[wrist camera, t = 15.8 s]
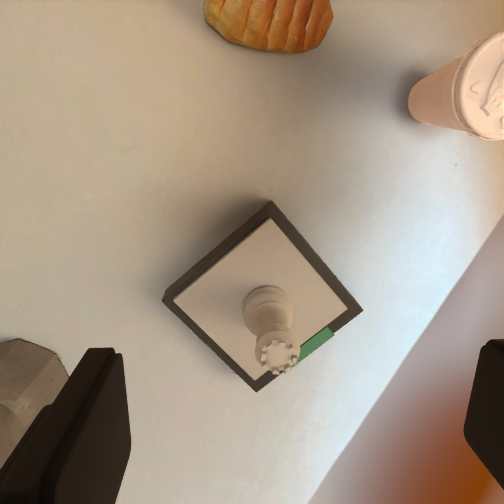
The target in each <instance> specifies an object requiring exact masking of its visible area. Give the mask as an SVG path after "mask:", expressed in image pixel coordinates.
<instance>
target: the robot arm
mask: <svg viewBox="0 0 504 504" xmlns="http://www.w3.org/2000/svg"><path fill="white" fill-rule="evenodd" d="M464 436H465V439H466V441H467V443H468V444H469V446H470V447H471V448H472V450H473V451H474V452H475V453H476V455H477V456H478V457H479V459H480V460H481V461H482V462H483V464H484V465H485V466H486V468H487V469H488V470H489V472H490V473H491V474H492V475H493V477H494V478H495V479H496V481H497V482H498V483H499V484H500V486H501V487H502V488H503V490H504V339H492V340H489V341H488V342H487V343H486V345H484V346H483V347H482V348H481V350H480V354H479V359H478V364H477V368H476V373H475V378H474V382H473V387H472V391H471V397H470V401H469V406H468V410H467V415H466V419H465V424H464ZM130 451H131V434H130V424H129V414H128V404H127V394H126V385H125V375H124V365H123V357H122V354H121V353H115V350H114V348H89V349H88V350H87V351H86V353H85V354H84V356H83V357H82V359H81V360H80V362H79V363H78V365H77V366H76V368H75V369H74V371H73V373H72V374H71V376H70V377H69V379H68V380H67V382H66V383H65V385H64V386H63V388H62V389H61V391H60V392H59V394H58V395H57V397H56V399H55V400H54V402H53V403H52V404H48V405H46V406H44V407H43V408H42V409H41V410H40V412H39V413H38V415H37V416H36V418H35V419H34V421H33V422H32V423H31V425H30V426H29V428H28V429H27V431H26V432H25V434H24V435H23V437H22V438H21V440H20V441H19V443H18V444H17V446H16V447H15V448H14V450H13V451H12V453H11V454H10V456H9V457H8V459H7V460H6V462H5V463H4V465H3V466H2V468H1V469H0V504H115V502H116V499H117V495H118V492H119V489H120V486H121V482H122V479H123V476H124V473H125V469H126V466H127V463H128V460H129V456H130Z"/></svg>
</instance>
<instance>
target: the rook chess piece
mask: <svg viewBox="0 0 504 504" xmlns="http://www.w3.org/2000/svg"><path fill="white" fill-rule="evenodd" d="M242 314H243V318H244V322H245V325H246V327H247V328H248V329H249V330H250V332H251V333H252V334H254V335H255V336H257V338H256V347H255V352H254V353H255V357H256V360H257V362H258V363H259V364H260V365H261V366H262V367H264V368H265V370H266V371H267V370H271V371H272V374H277V375H279V371H281V370H285V372H286V373H287V372H289V371H290V370H292V367H291V366H292V365H294V364H296V363H297V359H298V358H299V354H300V345H299V342H298V340H297V339H296V338H295V336H294V335H293V334H292V332H291V331H290V329H289V327H290V326H291V324H292V320H293V316H294V312H293V307H292V303H291V300H290V299H289V297H288V296H287V294H286V293H284V292H283V291H281V290H279V289H278V288H271V287H265V288H261V289H257V290H256V291H254V292H253V293H251V294H250V295H249V296H248V297H247V299H246V300H245V302H244V304H243V309H242Z"/></svg>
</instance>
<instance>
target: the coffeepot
mask: <svg viewBox="0 0 504 504" xmlns="http://www.w3.org/2000/svg"><path fill="white" fill-rule="evenodd" d="M68 379H69V378H68V375H67V373H66V370H65V368H64V366H63V364H62V363H61V361H60V360H59V359H58V358H57V356H56V354H54V353H52V352H51V351H49V350H47V349H45V348H43V347H41V346H39V345H36V344H33V343H30V342H24V341H21V340H14V341H10V342H5V343H1V344H0V469H1V468H2V466H3V465H4V463H5V462H6V460H7V459H8V457H9V456H10V454H11V453H12V451H13V450H14V448H15V447H16V446H17V444H18V443H19V441H20V440H21V438H22V437H23V435H24V434H25V432H26V431H27V429H28V428H29V426H30V425H31V423H32V422H33V421H34V419H35V418H36V416H37V415H38V413H39V412H40V410H41V409H42V408H43V407H44V406H46V405H48V404H52V403H53V402H54V400H55V399H56V397H57V395H58V394H59V392H60V391H61V389H62V388H63V386H64V385H65V383H66V382H67V380H68Z"/></svg>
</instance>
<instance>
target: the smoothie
mask: <svg viewBox="0 0 504 504" xmlns="http://www.w3.org/2000/svg"><path fill="white" fill-rule="evenodd" d="M408 109H409V112H410V114H411V116H412V117H413V118H414V119H415V120H417V121H418V122H421V123H426V124H431V125H436V126H441V127H446V128H451V129H456V130H461V131H465V132H467V133H468V134H469V135H471V136H473V137H476V138H478V139H481V140H489V141H496V140H504V31H503V32H499V33H494V34H492V35H490V36H488V37H486V38H484V39H482V40H480V41H479V42H478V43H477V44H476V45H475V46H473V47H472V48H471V49H470V50H469V51H468V53H467V54H465V55H464V56H462V57H460V58H459V59H457V60H455V61H453V62H452V63H450V64H448V65H446V66H444V67H443V68H441V69H439V70H437V71H436V72H434V73H432V74H430V75H429V76H427V77H425V78H423V79H422V80H420V81H418V82H417V83H416V84H415V85H414V87H413V88H412V90H411V91H410V94H409V97H408Z"/></svg>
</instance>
